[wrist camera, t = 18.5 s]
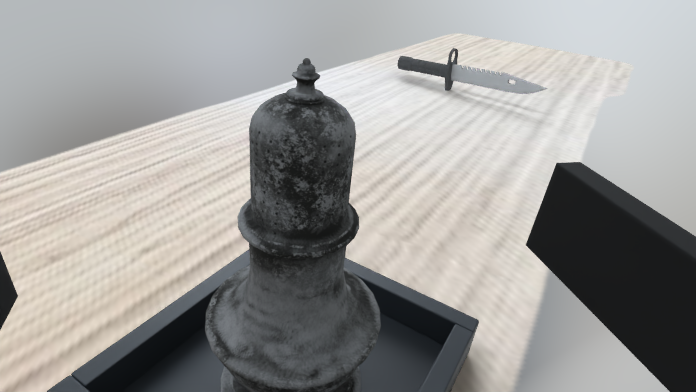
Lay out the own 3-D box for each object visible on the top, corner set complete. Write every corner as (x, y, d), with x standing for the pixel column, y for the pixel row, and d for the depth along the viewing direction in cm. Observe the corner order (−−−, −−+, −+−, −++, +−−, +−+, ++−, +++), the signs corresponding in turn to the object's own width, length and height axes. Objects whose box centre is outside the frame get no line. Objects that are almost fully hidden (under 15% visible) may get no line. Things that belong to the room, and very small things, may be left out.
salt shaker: (182, 437, 14) (119, 72, 8) (244, 309, 19) (233, 24, 13) (359, 473, 14) (431, 116, 8) (375, 332, 19) (426, 49, 13)
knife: (544, 107, 50) (556, 63, 47) (538, 112, 48) (550, 66, 46) (403, 77, 60) (407, 39, 57) (393, 80, 58) (397, 41, 56)
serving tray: (316, 678, 10) (321, 648, 9) (60, 430, 15) (44, 391, 14) (468, 353, 19) (479, 320, 18) (279, 258, 23) (280, 226, 22)
